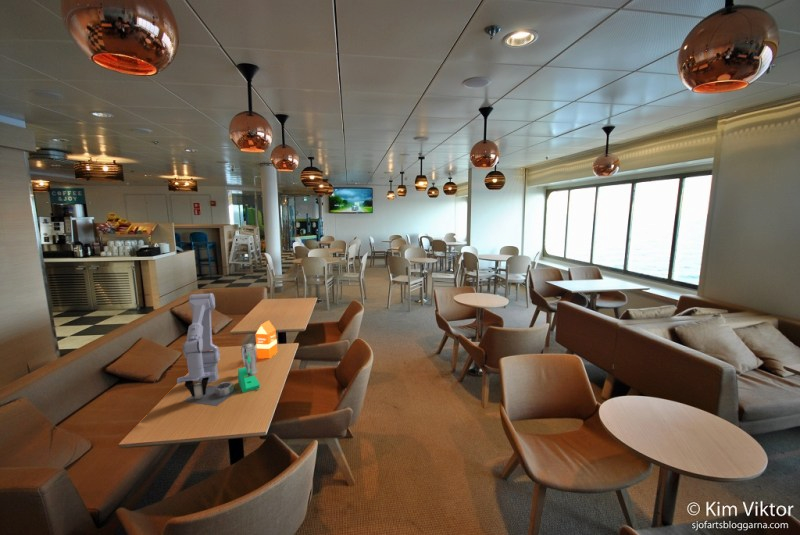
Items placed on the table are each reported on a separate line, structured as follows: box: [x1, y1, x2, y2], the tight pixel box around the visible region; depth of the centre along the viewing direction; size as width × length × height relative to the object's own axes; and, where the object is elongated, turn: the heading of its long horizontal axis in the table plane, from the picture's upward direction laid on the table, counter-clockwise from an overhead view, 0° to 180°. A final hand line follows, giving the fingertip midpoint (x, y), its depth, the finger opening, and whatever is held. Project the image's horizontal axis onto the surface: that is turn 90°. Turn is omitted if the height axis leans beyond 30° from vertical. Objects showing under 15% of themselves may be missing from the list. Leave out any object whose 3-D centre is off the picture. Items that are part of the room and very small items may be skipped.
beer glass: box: [240, 343, 258, 377], centre depth 171 cm, size 7×7×15 cm
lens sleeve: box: [214, 381, 235, 397], centre depth 150 cm, size 7×7×4 cm
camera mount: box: [237, 366, 261, 394], centre depth 157 cm, size 12×8×10 cm, turn 34°
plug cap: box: [193, 382, 204, 400], centre depth 147 cm, size 4×4×6 cm
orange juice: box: [254, 320, 278, 359], centre depth 192 cm, size 8×9×20 cm
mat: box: [183, 384, 241, 407], centre depth 149 cm, size 18×14×1 cm
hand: (199, 394), depth 147 cm, fingers closed on plug cap, 4 cm apart
